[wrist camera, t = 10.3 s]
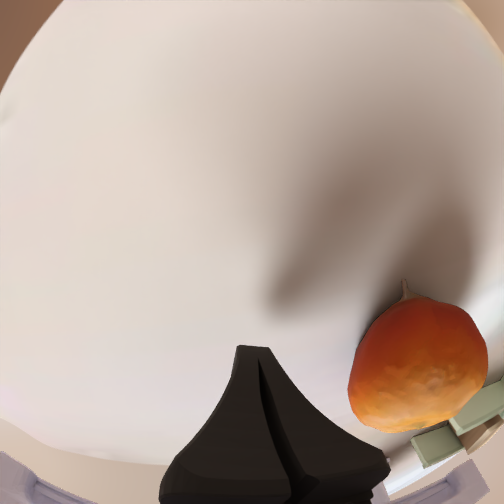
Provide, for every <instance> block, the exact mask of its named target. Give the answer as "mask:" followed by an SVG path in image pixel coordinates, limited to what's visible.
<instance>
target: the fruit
mask: <svg viewBox="0 0 504 504" xmlns="http://www.w3.org/2000/svg"><path fill="white" fill-rule="evenodd" d="M402 288H403V295H402V298H401V299H400V301H399V302H396V303H395V304H393V305H392V306H391V307H390V308H388V309H387V310H386V311H385V312H384V313H383V314H381V315H380V316H379V317H378V318H377V319H376V320H375V321H374V322H373V323H372V325H371V326H370V328H369V329H368V331H367V333H366V335H365V336H364V338H363V340H362V342H361V343H360V344H359V346H358V347H357V349H356V352H355V357H354V361H353V366H352V370H351V373H350V379H349V384H348V397H349V401H350V405H351V408H352V411H353V413H354V414H355V415H356V416H357V418H358V419H359V421H360V422H362V423H363V424H364V425H366V426H370V427H373V428H375V429H379V430H380V431H382V432H387V433H397V432H403V431H408V430H412V429H418V430H419V429H421V428H425V427H429V426H432V425H435V424H437V423H439V422H441V421H445V420H448V419H450V418H452V417H454V416H456V415H457V414H458V413H459V412H460V410H461V409H462V408H463V406H464V405H465V404H466V403H467V402H468V401H469V400H470V399H471V398H472V397H473V396H474V395H475V394H476V393H477V392H478V391H479V390H480V389H481V388H482V386H483V384H484V382H485V379H486V376H487V371H488V354H487V347H486V343H485V341H484V339H483V337H482V335H481V334H480V332H479V330H478V328H477V326H476V324H475V323H474V321H473V320H472V318H471V317H470V315H469V314H468V313H467V312H466V311H464V310H463V309H461V308H459V307H457V306H455V305H451V304H447V303H442V302H438V301H435V300H433V299H430V298H428V297H424V296H420V295H418V294H415V293H412V292H410V291H409V290H408V288H407V283H406V279H405V280H403V279H402Z"/></svg>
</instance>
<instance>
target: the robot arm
mask: <svg viewBox="0 0 504 504" xmlns="http://www.w3.org/2000/svg"><path fill="white" fill-rule="evenodd" d="M390 461H391V460H390V458H386V457H385V455H384V453H383V452H382V450H380V449H378V448H376V447H374V446H372V445H370V444H368V443H365V442H363V441H361V440H359V439H358V438H356V437H354V436H353V435H351V434H349V433H348V432H346V431H345V430H343V429H342V428H340V427H339V426H337V425H336V424H335V423H333V422H332V421H331V420H329V419H328V418H327V417H325V416H324V415H323V414H322V413H321V412H320V411H319V410H317V409H316V408H315V407H314V406H313V405H312V404H311V403H310V402H309V401H308V400H307V399H306V398H305V396H304V395H303V394H302V393H301V392H300V391H299V390H298V388H297V387H296V386H295V385H294V383H293V382H292V381H291V379H290V378H289V377H288V375H287V374H286V373H285V371H284V370H283V368H282V367H281V365H280V364H279V362H278V361H277V359H276V358H275V356H274V355H273V353H272V351H271V350H270V348H269V347H257V346H247V345H239V346H237V348H236V353H235V358H234V363H233V369H232V374H231V378H230V380H229V383H228V385H227V387H226V389H225V391H224V393H223V395H222V397H221V399H220V401H219V403H218V404H217V406H216V408H215V409H214V411H213V412H212V414H211V415H210V417H209V418H208V420H207V421H206V423H205V424H204V425H203V427H202V428H201V429H200V430H199V432H198V433H197V434H196V435H195V436H194V438H193V439H192V440H191V441H190V442H189V443H188V444H187V445H186V446H185V447H184V448H183V449H182V450H181V451H180V452H179V453H178V454H177V455H176V456H175V458H174V460H173V461H172V463H171V464H170V466H169V468H168V469H167V471H166V473H165V475H164V477H163V479H162V481H161V484H160V490H159V502H160V504H475V503H476V502H477V501H478V500H479V499H481V498H482V497H483V496H485V495H486V494H487V493H488V492H489V490H490V489H489V488H488V486H487V484H486V483H485V481H484V479H483V477H482V475H481V474H480V472H479V471H478V469H477V467H476V465H475V463H474V462H473V460H472V459H469V460H468V461H466V462H464V463H463V464H461V465H459V466H458V467H456V468H455V469H453V470H452V471H451V472H450V473H448V474H447V475H446V477H444V478H442V479H440V480H438V481H436V482H434V483H432V484H430V485H428V486H426V487H424V488H422V489H420V490H417V491H415V492H413V493H411V494H408V495H405V496H403V497H401V498H398V499H395V500H393V501H390V499H389V496H388V494H387V491H386V489H385V486H384V484H383V480H384V479H385V478H386V477H387V476H388V475H389V473H390V471H391V469H390V466H389V464H388V463H389V462H390ZM0 504H97V503H95V502H92V501H89V500H87V499H84V498H82V497H79V496H77V495H74V494H72V493H70V492H67V491H65V490H63V489H61V488H58V487H56V486H54V485H52V484H50V483H48V482H46V481H44V480H42V479H41V478H39V477H37V475H36V474H35V473H34V472H33V471H32V470H31V469H29V468H28V467H27V466H25V465H24V464H22V463H21V462H19V461H17V460H16V459H14V458H12V457H11V456H9V455H8V454H6V453H5V452H3V451H1V452H0Z"/></svg>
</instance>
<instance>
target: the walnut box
mask: <svg viewBox="0 0 504 504" xmlns="http://www.w3.org/2000/svg"><path fill="white" fill-rule="evenodd" d="M448 423H449V425H450V426H451V428H452V429H453V431H454V432H455V434H456V430H455V429H454V427H453V426H452V424H451V423H450V421H449V422H448ZM503 424H504V420H503V419H502V418H501V417H500V415H499V414H498V415H496V416H494V417H493V418H491V419H489V420H488V421H486V422H484V423H482V424H481V425H479V426H477V427H475V428H473V429H471V430H469V431H467V432H465V433H463V434H461V435H459V436H457V437H458V438H459V440H460V441H461V443H462V445H463V446H464V448H465V449H466V451H467V454H468V455H469V454H470V453H472V452H474V451H475V450H477V449H478V448H480V447H481V446H483V445H485V444H486V443H487V442H488V441H489V440H490V438H491V437H492V436H493V435H494V434H495V433H496V432H497V431H498V430H499V429H500V427H501V426H502V425H503ZM456 435H457V434H456Z"/></svg>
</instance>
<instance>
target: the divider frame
mask: <svg viewBox="0 0 504 504" xmlns="http://www.w3.org/2000/svg"><path fill="white" fill-rule="evenodd" d="M498 414H499V415H500V417H501V418H502V419H503V418H504V375H503V377H502V378H501V380H500V381H498V382H496V383H493V384H491V385H488V386H486V387H484V388H481V389H480V390H479V391H478V392H477V393H476V394H475V395H474V396H473V397H472V398H471V399H470V400H469V401H468V402H467V403H466V404H465V405H464V406H463V408H462V409H461V410H460V412H459V413H458V414H457V415H456V416H454V417H452V418H450V419H448V420H449V421H450V423H451V424H452V426H453V427H454V429H455V430H456V434H457V435H456V434H455V432H454V431H453V429H452V428H451V426H450V425H447V426H444V427H441V428H439V429H436V430H433V431H430V432H428V433H425V434H422V435H419V436H415V437H413V438H412V439H411V440H410V441H411V443H412V445H413V447H414V449H415V451H416V452H417V454H418V456H419V458H420V460H421V462H422V464H423V465H422V466H423V468H424V469H425V468H427V467H429V466H432V465H434V464H436V463H438V462H440V461H442V460H444V459H446V458H448V457H450V456H452V455H454V454H456V453H458V452H460V451H462V450H464V449H465V448H464V446H463V445H462V443H461V441H460V440H459V438H458V437H457V436H459V435H461V434H463V433H465V432H467V431H469V430H471V429H473V428H475V427H477V426H479V425H481V424H482V423H484V422H486V421H488V420H489V419H491V418H493V417H494V416H496V415H498Z"/></svg>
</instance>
